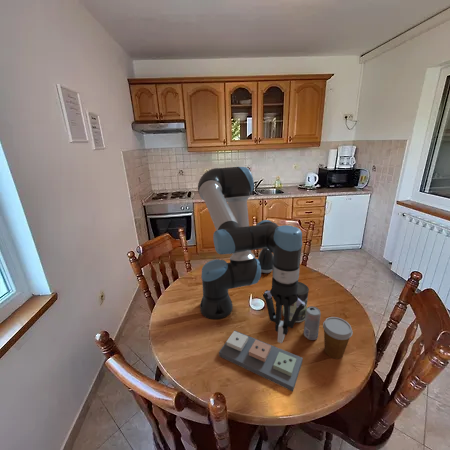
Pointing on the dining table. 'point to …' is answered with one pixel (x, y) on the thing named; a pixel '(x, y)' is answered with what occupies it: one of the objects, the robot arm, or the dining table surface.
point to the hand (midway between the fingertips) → (280, 339)
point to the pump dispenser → (266, 260)
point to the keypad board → (262, 363)
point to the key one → (237, 341)
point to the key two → (260, 350)
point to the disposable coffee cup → (336, 336)
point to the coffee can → (303, 296)
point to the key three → (284, 363)
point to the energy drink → (312, 323)
